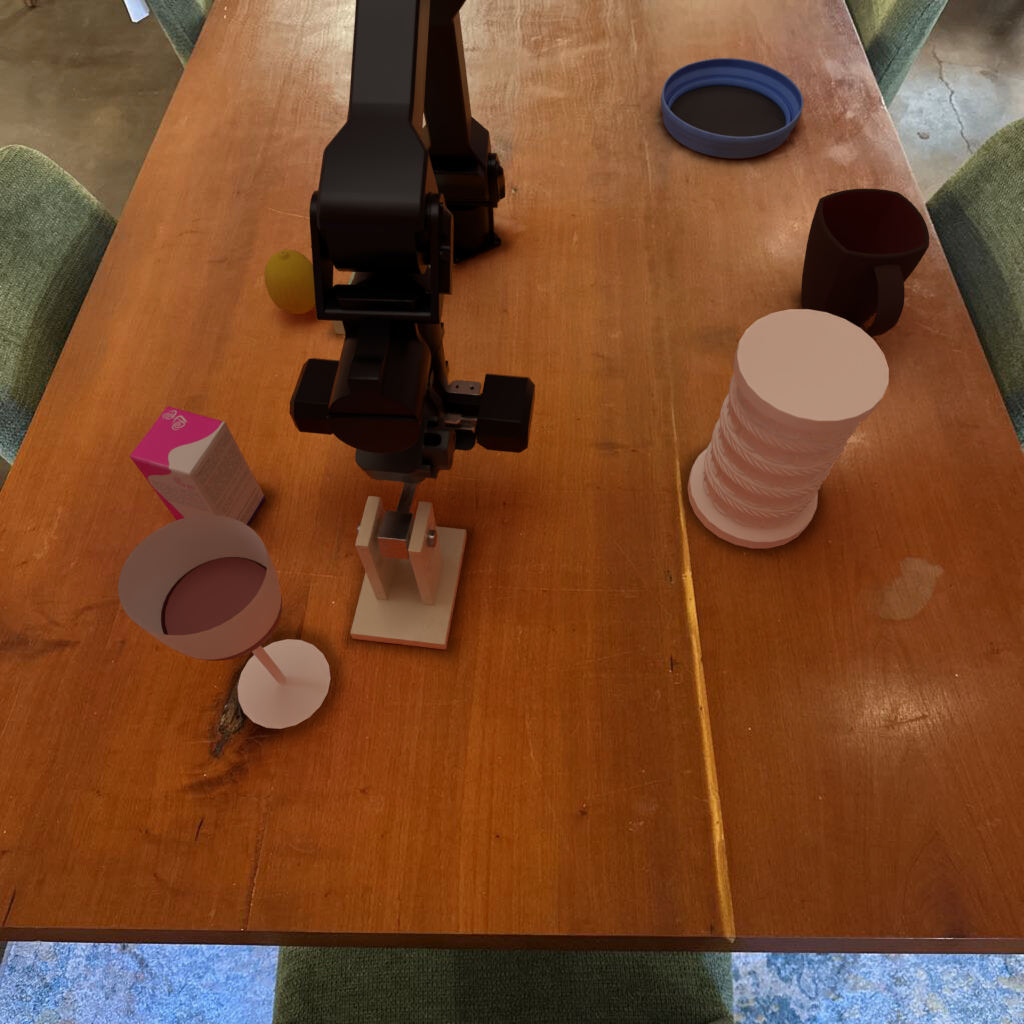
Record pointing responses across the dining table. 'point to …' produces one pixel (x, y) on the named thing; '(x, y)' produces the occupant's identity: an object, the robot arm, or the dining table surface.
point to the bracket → (408, 581)
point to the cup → (862, 256)
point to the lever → (399, 525)
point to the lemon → (290, 281)
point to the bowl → (730, 107)
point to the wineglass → (224, 612)
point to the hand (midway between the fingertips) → (426, 464)
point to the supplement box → (197, 467)
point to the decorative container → (784, 424)
